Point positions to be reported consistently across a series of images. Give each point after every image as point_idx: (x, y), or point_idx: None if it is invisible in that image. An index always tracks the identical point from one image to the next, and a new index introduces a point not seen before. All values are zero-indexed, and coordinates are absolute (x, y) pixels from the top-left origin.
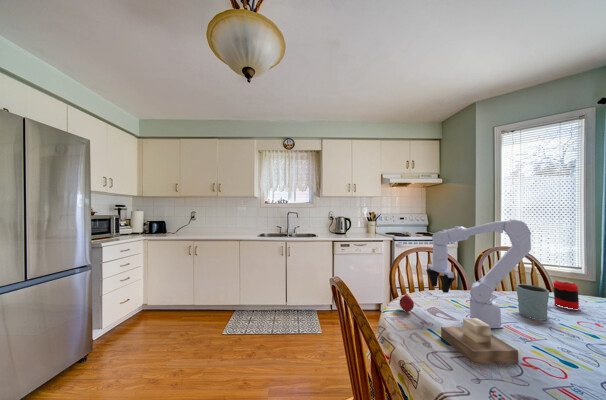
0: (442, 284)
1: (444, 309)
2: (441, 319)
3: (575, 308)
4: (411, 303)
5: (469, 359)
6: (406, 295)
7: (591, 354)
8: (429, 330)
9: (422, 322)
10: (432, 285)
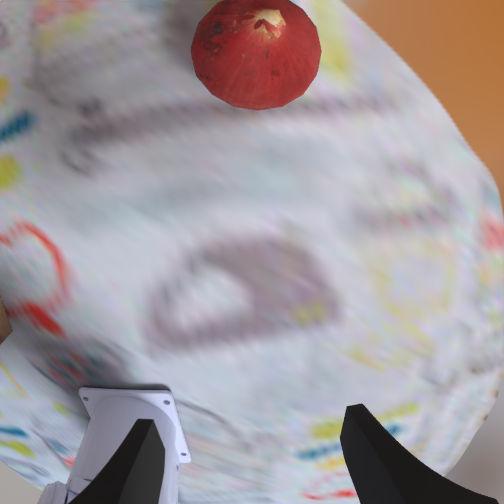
0: (106, 484)
1: (296, 359)
2: (144, 264)
3: None
4: (198, 64)
5: None
6: (253, 16)
7: None
8: (15, 119)
9: (93, 113)
10: (350, 414)
